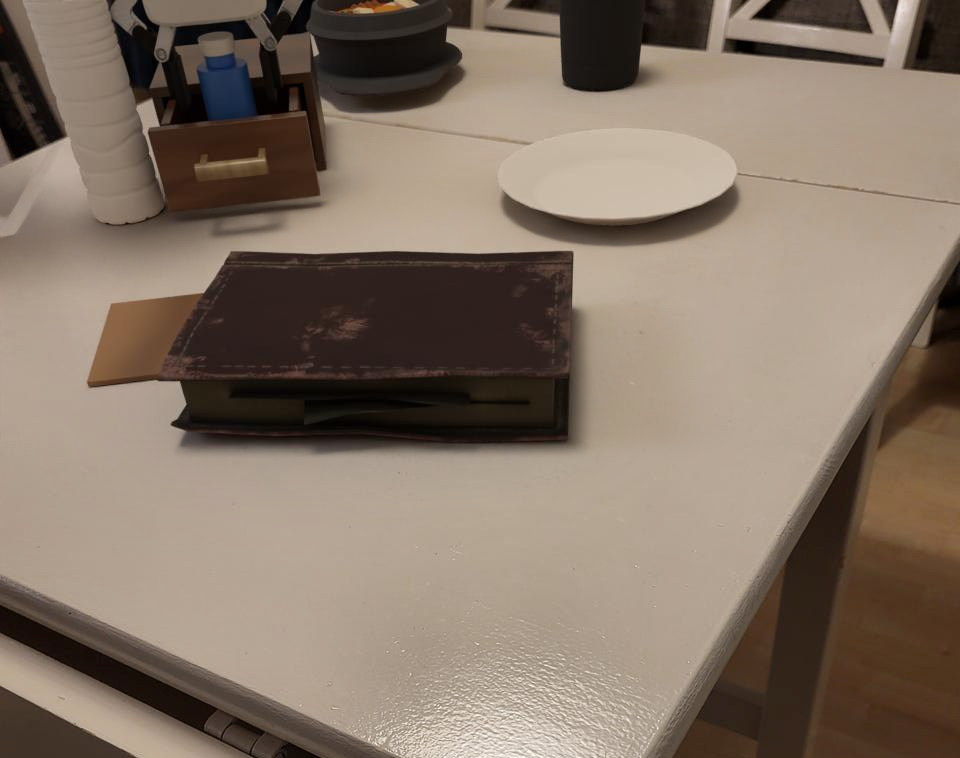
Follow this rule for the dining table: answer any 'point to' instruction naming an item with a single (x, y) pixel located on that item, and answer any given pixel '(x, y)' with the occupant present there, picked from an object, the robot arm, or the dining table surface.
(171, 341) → the mat
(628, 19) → the pen holder
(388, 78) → the casserole
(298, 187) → the drawer
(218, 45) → the bottle
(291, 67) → the cabinet
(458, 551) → the dining table surface
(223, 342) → the diary
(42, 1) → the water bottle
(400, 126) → the dining table surface
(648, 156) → the plate
